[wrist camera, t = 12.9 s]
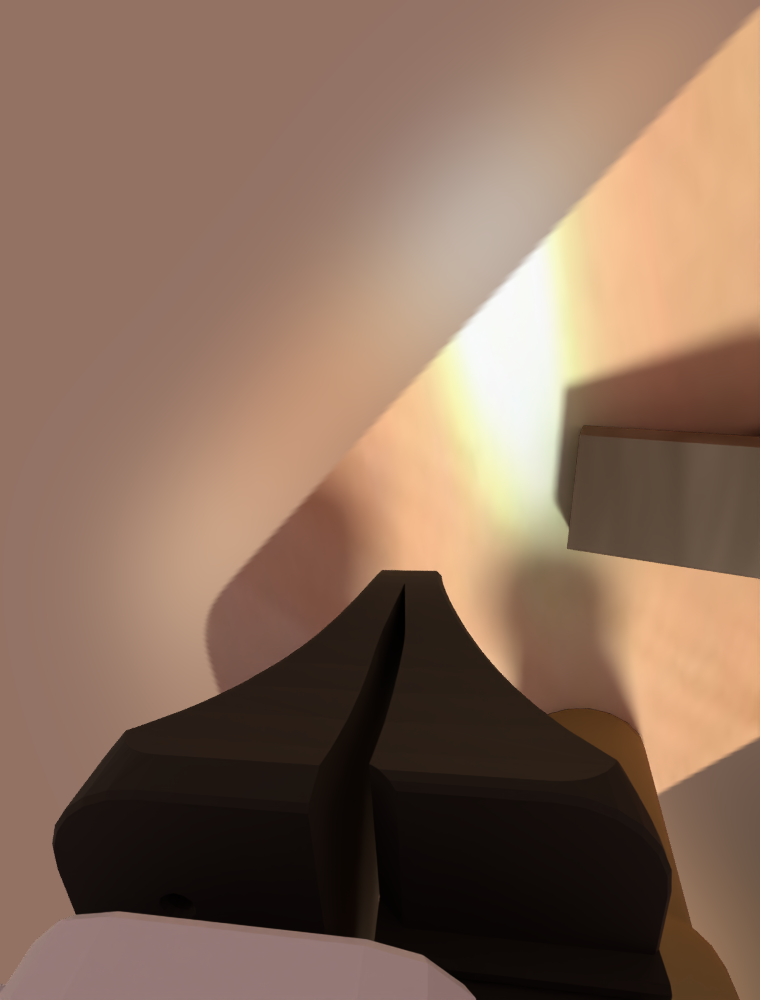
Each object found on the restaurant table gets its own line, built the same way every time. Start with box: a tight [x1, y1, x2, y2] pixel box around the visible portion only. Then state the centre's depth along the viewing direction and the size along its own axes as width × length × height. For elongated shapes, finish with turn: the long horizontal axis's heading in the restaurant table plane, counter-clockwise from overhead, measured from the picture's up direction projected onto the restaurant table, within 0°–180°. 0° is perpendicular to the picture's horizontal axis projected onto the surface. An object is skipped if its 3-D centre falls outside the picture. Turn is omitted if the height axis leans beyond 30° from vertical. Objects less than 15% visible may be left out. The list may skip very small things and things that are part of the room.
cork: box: [548, 709, 740, 1000], centre depth 20 cm, size 6×6×11 cm
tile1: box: [567, 426, 760, 579], centre depth 18 cm, size 2×4×7 cm
